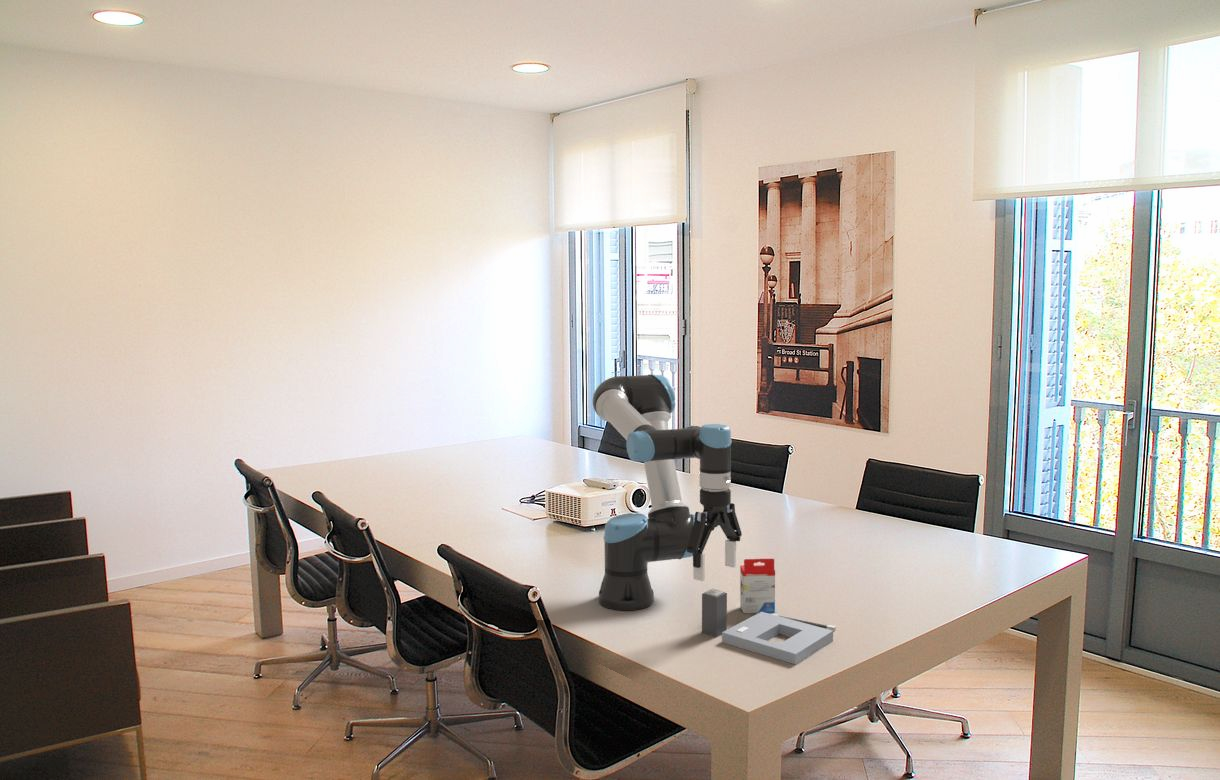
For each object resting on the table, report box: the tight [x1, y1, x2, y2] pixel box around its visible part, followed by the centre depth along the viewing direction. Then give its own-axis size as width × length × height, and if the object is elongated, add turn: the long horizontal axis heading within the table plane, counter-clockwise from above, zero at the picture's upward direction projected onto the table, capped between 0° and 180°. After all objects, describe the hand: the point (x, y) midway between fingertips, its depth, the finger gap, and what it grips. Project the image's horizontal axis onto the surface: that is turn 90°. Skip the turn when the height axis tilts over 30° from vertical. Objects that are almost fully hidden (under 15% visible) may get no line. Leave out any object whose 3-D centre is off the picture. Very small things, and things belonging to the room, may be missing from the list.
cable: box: [771, 612, 837, 632], centre depth 229 cm, size 17×1×1 cm, turn 57°
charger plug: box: [701, 588, 728, 638], centre depth 223 cm, size 4×4×11 cm
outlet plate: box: [721, 612, 834, 666], centre depth 218 cm, size 20×18×3 cm
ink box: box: [739, 558, 776, 614], centre depth 238 cm, size 8×5×15 cm, turn 92°
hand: (715, 573), depth 222 cm, fingers open, 13 cm apart
